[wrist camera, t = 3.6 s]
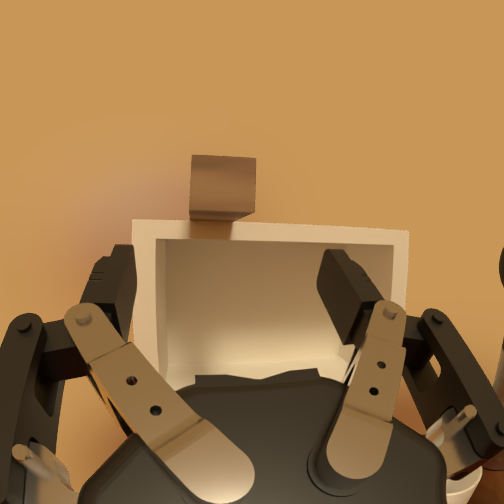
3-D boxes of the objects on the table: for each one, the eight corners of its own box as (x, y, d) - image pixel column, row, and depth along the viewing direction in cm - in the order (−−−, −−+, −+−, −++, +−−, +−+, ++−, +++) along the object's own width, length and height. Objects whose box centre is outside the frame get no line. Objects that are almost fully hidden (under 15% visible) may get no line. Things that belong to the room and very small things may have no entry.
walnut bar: (254, 212, 17) (256, 158, 17) (189, 209, 16) (191, 154, 16) (219, 227, 39) (220, 203, 38) (190, 227, 38) (191, 202, 38)
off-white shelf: (368, 482, 30) (409, 230, 29) (160, 510, 25) (132, 219, 24) (333, 439, 42) (353, 232, 41) (163, 453, 37) (150, 226, 36)
